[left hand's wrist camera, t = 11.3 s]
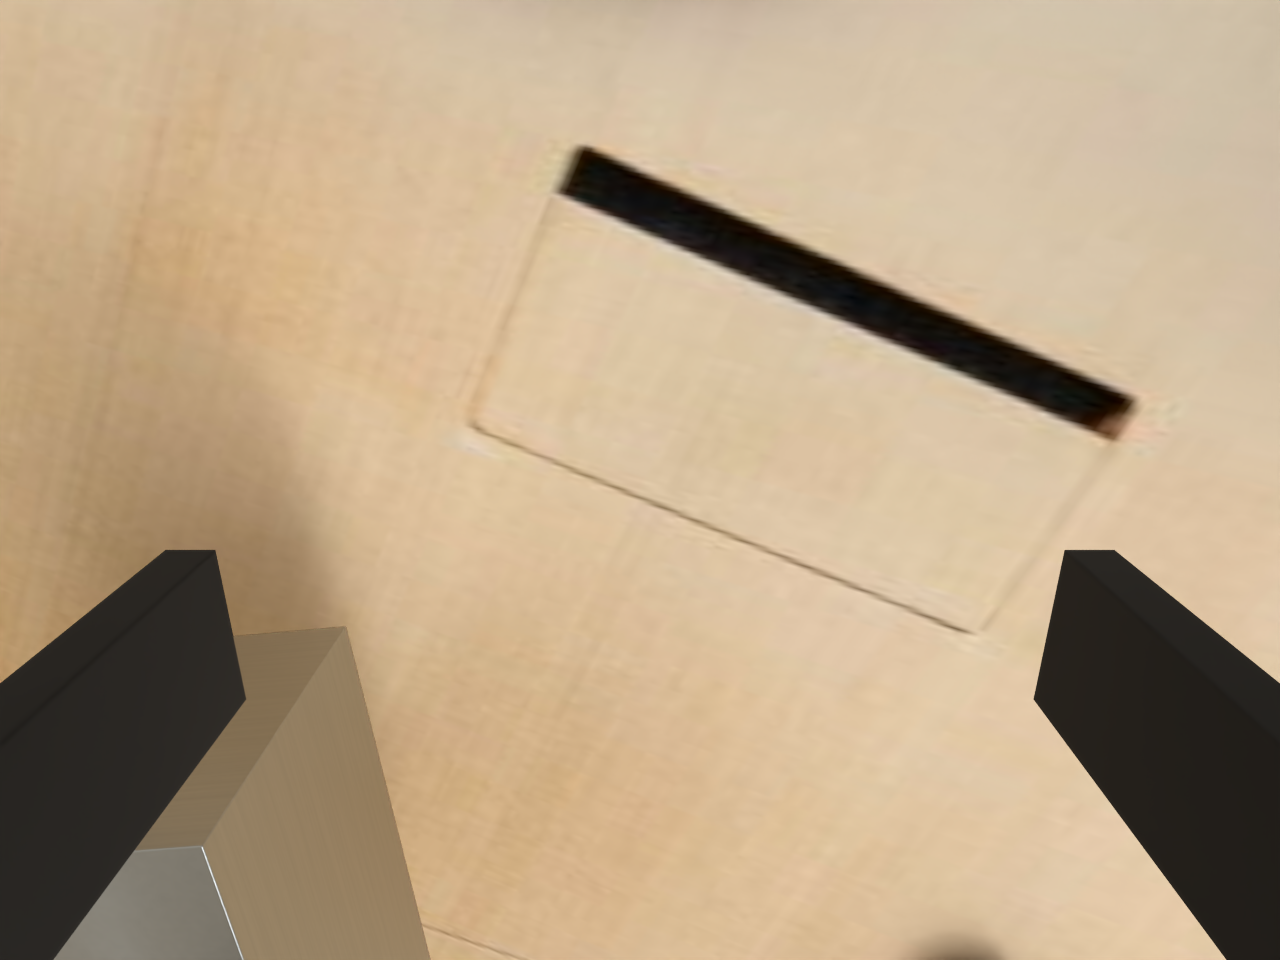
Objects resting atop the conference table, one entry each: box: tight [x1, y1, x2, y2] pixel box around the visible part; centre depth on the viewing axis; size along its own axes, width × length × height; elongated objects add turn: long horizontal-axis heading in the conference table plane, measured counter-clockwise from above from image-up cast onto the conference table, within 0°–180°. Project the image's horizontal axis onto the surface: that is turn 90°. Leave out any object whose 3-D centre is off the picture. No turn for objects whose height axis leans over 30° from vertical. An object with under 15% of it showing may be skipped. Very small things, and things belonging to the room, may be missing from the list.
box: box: [54, 626, 431, 960], centre depth 33 cm, size 22×7×12 cm, turn 5°
